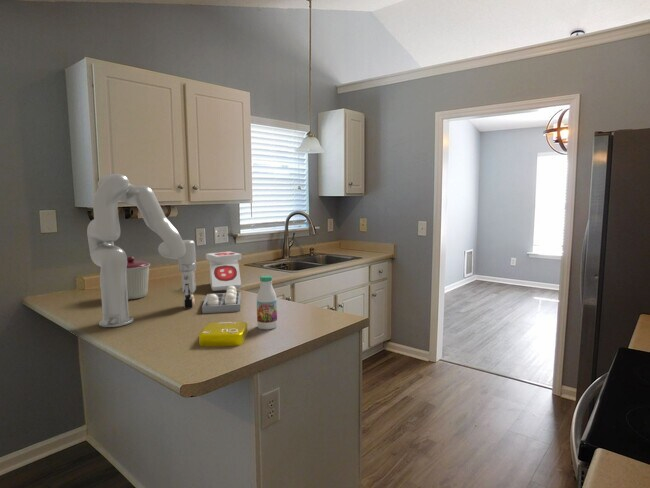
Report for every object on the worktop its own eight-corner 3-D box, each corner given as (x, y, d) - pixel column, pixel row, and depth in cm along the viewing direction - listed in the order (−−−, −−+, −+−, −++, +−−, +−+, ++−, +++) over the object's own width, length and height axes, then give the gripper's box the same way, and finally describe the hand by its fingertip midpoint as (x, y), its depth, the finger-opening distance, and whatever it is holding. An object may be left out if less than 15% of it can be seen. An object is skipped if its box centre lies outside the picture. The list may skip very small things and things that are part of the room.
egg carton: (240, 311, 187) (239, 294, 186) (202, 313, 184) (201, 296, 183) (241, 298, 210) (240, 283, 209) (207, 299, 207) (206, 285, 206)
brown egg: (194, 308, 192) (193, 294, 192) (183, 308, 192) (182, 295, 191) (195, 305, 197) (194, 292, 196) (184, 306, 196) (184, 292, 195)
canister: (159, 294, 221) (157, 254, 218) (135, 302, 203) (132, 259, 201) (130, 292, 225) (128, 253, 223) (104, 300, 208) (101, 258, 206)
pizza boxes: (208, 294, 219) (207, 260, 217) (206, 283, 247) (205, 252, 245) (246, 291, 224) (245, 258, 222) (240, 280, 253) (238, 250, 251)
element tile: (248, 332, 159) (248, 320, 159) (242, 346, 144) (241, 333, 144) (208, 333, 159) (207, 320, 158) (197, 347, 144) (197, 334, 143)
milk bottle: (255, 325, 166) (254, 275, 164) (274, 322, 169) (273, 273, 167) (259, 331, 159) (258, 279, 157) (279, 328, 162) (278, 277, 159)
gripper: (193, 270, 184) (195, 310, 187) (198, 263, 201) (200, 301, 203) (175, 270, 183) (177, 311, 185) (181, 264, 200) (183, 302, 202)
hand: (189, 305), depth 194 cm, fingers closed on brown egg, 4 cm apart
